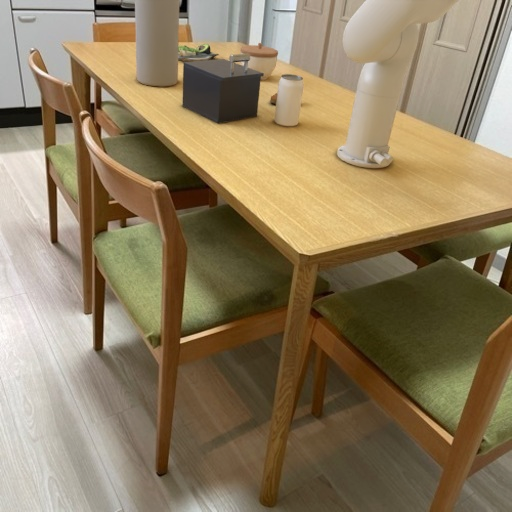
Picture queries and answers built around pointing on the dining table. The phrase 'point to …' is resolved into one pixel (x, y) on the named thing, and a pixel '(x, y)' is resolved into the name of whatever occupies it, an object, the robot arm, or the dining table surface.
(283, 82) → the can
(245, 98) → the bin
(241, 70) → the bin lid
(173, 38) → the cylinder vase
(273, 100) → the pastry
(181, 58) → the salad plate
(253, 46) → the lidded bowl
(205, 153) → the dining table surface
